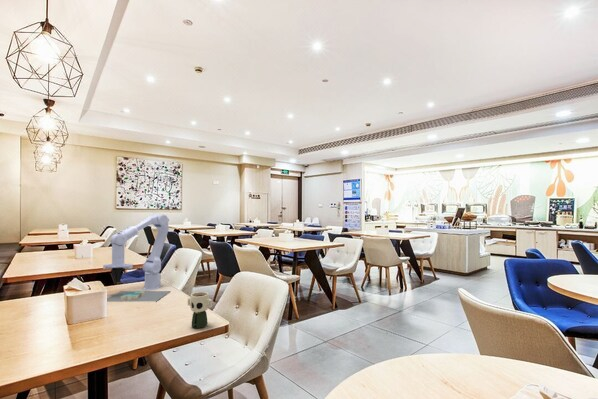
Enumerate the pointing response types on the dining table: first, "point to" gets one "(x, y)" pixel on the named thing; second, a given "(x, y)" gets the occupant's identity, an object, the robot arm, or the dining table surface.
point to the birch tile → (132, 295)
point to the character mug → (199, 308)
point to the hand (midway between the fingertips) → (117, 281)
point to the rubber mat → (146, 297)
